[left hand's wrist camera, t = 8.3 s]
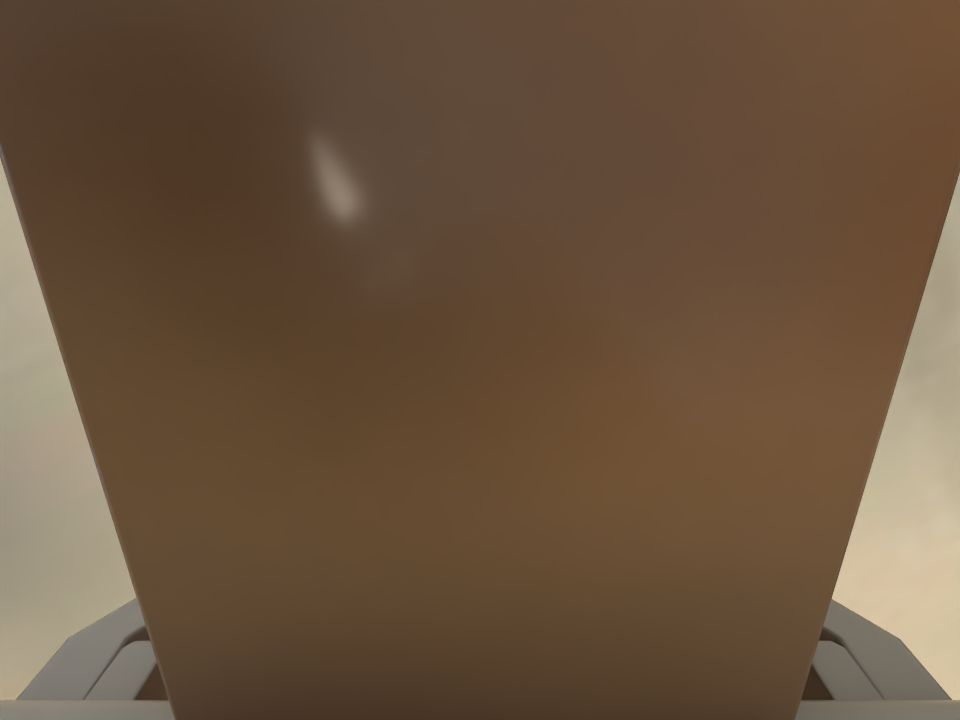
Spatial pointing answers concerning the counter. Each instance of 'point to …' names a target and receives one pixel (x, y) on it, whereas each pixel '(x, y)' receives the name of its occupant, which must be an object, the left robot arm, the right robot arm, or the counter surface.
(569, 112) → the box
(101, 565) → the counter surface
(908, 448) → the counter surface
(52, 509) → the counter surface
